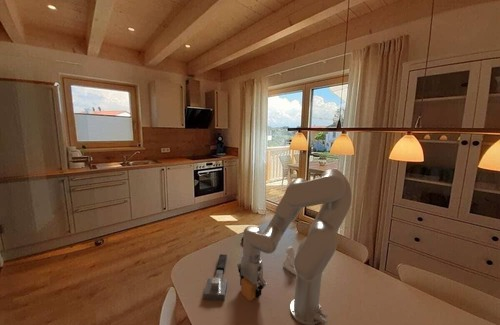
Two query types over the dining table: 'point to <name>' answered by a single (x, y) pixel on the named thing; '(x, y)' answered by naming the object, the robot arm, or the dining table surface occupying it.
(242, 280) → the orange cube
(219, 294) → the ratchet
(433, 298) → the dining table surface
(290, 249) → the seated beast figurine
